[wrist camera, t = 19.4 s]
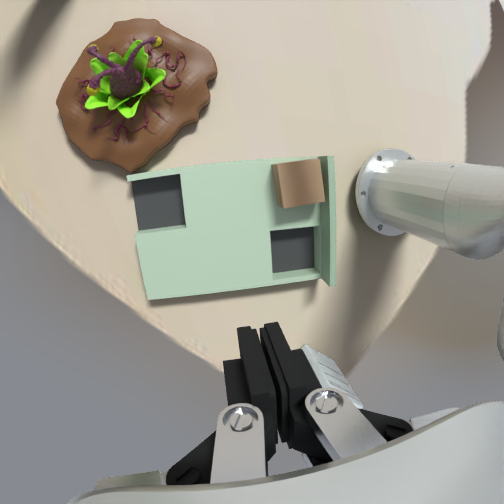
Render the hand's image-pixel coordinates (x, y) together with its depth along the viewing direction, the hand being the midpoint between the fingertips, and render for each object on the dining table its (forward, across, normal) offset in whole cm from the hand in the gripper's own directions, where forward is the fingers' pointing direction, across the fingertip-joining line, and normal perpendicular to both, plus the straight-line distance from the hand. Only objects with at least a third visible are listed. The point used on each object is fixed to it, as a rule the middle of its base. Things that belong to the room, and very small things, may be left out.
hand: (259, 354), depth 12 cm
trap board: (+27, -1, 0) cm, 27 cm away
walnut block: (+25, -9, -5) cm, 27 cm away
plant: (+28, +10, -19) cm, 35 cm away
